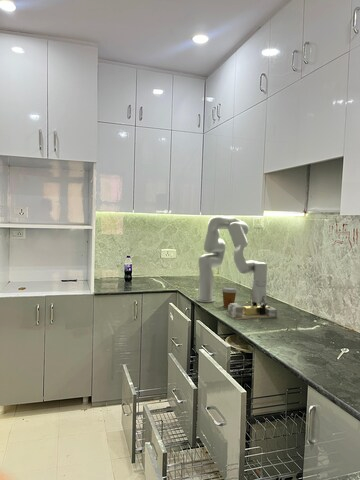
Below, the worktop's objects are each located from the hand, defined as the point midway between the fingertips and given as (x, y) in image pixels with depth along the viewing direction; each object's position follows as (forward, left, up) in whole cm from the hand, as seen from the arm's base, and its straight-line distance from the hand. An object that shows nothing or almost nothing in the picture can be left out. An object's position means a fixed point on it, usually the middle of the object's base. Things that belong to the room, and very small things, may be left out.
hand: (258, 312), depth 217 cm
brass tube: (0, -2, 0) cm, 2 cm away
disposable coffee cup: (-21, -9, -2) cm, 23 cm away
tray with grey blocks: (0, -5, -1) cm, 5 cm away
